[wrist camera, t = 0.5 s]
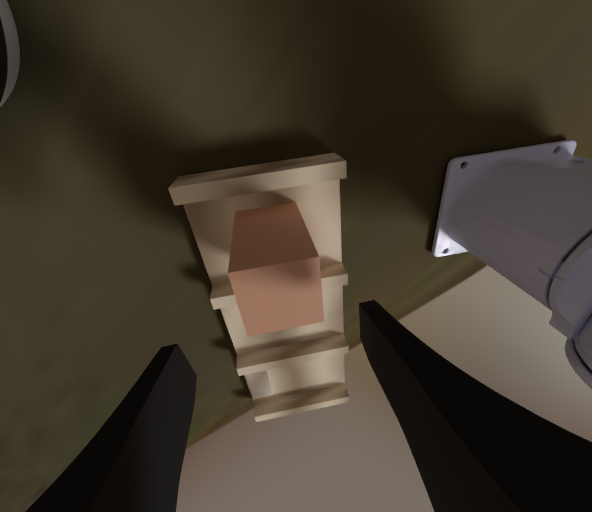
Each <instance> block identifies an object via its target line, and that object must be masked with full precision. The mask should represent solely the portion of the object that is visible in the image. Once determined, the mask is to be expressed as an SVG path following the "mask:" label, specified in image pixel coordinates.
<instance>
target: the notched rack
mask: <svg viewBox="0 0 592 512" xmlns="http://www.w3.org/2000/svg"><path fill="white" fill-rule="evenodd" d="M345 178H347V173H346V160H345V159H343V158H342V157H340V156H339V155H337V154H336V153H328V154H322V155H315V156H309V157H302V158H296V159H289V160H283V161H276V162H269V163H263V164H256V165H250V166H243V167H237V168H230V169H223V170H217V171H210V172H204V173H197V174H191V175H184V176H178V177H177V179H176V180H175V181H174V182H173V183H172V184H171V185H170V187H169V188H168V190H169V192H170V195H171V198H172V200H173V203H174V206H176V205H182V204H183V206H184V209H185V211H186V214H187V217H188V220H189V223H190V225H191V228H192V231H193V234H194V236H195V239H196V242H197V245H198V248H199V250H200V253H201V256H202V259H203V262H204V264H205V267H206V270H207V273H208V275H209V278H210V281H211V284H212V291H211V296H210V301H211V304H212V306H213V309H214V310H215V309H221V312H222V314H223V317H224V320H225V323H226V326H227V328H228V331H229V334H230V337H231V339H232V342H233V345H234V348H235V351H236V353H237V365H236V370H237V372H238V375H239V376H242V375H244V376H245V378H246V381H247V384H248V387H249V390H250V392H251V395H252V398H253V401H254V417H255V420H256V422H259V421H263V420H268V419H272V418H277V417H282V416H286V415H291V414H296V413H300V412H305V411H309V410H314V409H318V408H323V407H327V406H332V405H337V404H342V403H346V402H349V395H348V392H347V389H346V386H345V372H344V354H348V353H349V346H348V344H347V341H346V338H345V336H344V333H343V295H342V286H343V285H348V273H347V272H346V270H345V268H344V266H343V264H342V257H341V219H340V181H339V179H345ZM292 202H296V204H297V206H298V208H299V211H300V213H301V215H302V218H303V220H304V222H305V225H306V227H307V229H308V232H309V234H310V236H311V239H312V241H313V243H314V245H315V248H316V250H317V252H318V255H319V259H320V271H321V284H322V297H323V309H324V322H320V323H315V324H310V325H305V326H300V327H295V328H290V329H284V330H279V331H274V332H269V333H264V334H259V335H254V336H249V337H247V334H246V331H245V327H244V324H243V321H242V318H241V314H240V311H239V308H238V305H237V301H236V298H235V295H234V292H233V289H232V285H231V282H230V279H229V276H228V266H229V258H230V250H231V241H232V233H233V225H234V216H235V212H237V211H243V210H249V209H255V208H261V207H267V206H273V205H279V204H286V203H292Z"/></svg>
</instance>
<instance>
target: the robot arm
mask: <svg viewBox="0 0 592 512" xmlns="http://www.w3.org/2000/svg"><path fill="white" fill-rule="evenodd" d="M575 148H576V142H575V141H573V140H564V141H558V142H552V143H545V144H539V145H533V146H526V147H520V148H514V149H507V150H501V151H495V152H489V153H482V154H476V155H470V156H463V157H457V158H454V159H452V160H451V161H450V162H449V163H448V166H447V172H446V177H445V182H444V188H443V193H442V198H441V204H440V209H439V215H438V220H437V225H436V231H435V236H434V241H433V247H432V254H433V255H434V256H436V257H441V256H446V255H451V254H457V253H462V252H468V251H469V252H470V253H472V254H473V255H474V256H476V257H477V258H479V259H480V260H481V261H483V262H484V263H486V264H487V265H488V266H490V267H491V268H493V269H494V270H495V271H497V272H498V273H500V274H501V275H502V276H504V277H505V278H507V279H508V280H509V281H511V282H512V283H514V284H515V285H517V286H518V287H519V288H521V289H522V290H523V291H525V292H526V293H528V294H529V295H530V296H532V297H533V298H535V299H536V300H538V301H539V302H541V303H542V304H543V305H544V306H546V307H547V308H549V309H550V310H552V318H551V320H550V322H549V324H550V325H552V326H553V327H554V328H556V329H557V330H558V331H559V332H561V333H562V334H563V335H565V336H566V337H567V338H568V339H567V340H566V344H565V352H566V356H567V358H568V361H569V363H570V365H571V366H572V367H573V369H574V370H575V372H576V373H577V374H578V375H579V377H580V378H581V379H582V380H583V381H584V382H585V383H586V384H587V385H588V386H589V387H590V388H591V389H592V159H587V158H582V157H576V156H572V155H573V152H574V150H575ZM554 149H555V150H554ZM463 162H464V165H463V166H462V167H461V164H462V163H463ZM444 249H445V250H444ZM443 250H444V251H443ZM359 315H360V338H361V341H362V344H363V346H364V349H365V352H366V355H367V357H368V360H369V362H370V365H371V367H372V369H373V371H374V373H375V375H376V377H377V378H378V381H379V383H380V384H381V387H382V389H383V390H384V393H385V395H386V396H387V399H388V401H389V402H390V405H391V407H392V408H393V411H394V413H395V415H396V417H397V418H398V421H399V423H400V425H401V427H402V429H403V432H404V434H405V437H406V439H407V442H408V444H409V447H410V449H411V452H412V454H413V457H414V459H415V462H416V464H417V467H418V470H419V472H420V475H421V477H422V480H423V482H424V485H425V487H426V490H427V493H428V495H429V498H430V501H431V503H432V506H433V509H434V512H592V442H590V441H588V440H586V439H583V438H582V437H579V436H577V435H575V434H573V433H571V432H569V431H567V430H565V429H563V428H561V427H559V426H557V425H555V424H553V423H552V422H550V421H548V420H546V419H544V418H542V417H540V416H538V415H536V414H534V413H533V412H531V411H529V410H527V409H525V408H524V407H522V406H520V405H518V404H517V403H515V402H513V401H511V400H509V399H508V398H506V397H504V396H502V395H500V394H499V393H497V392H495V391H494V390H492V389H490V388H489V387H487V386H486V385H484V384H482V383H480V382H479V381H478V380H476V379H474V378H473V377H471V376H470V375H468V374H467V373H465V372H463V371H462V370H461V369H459V368H458V367H456V366H455V365H453V364H452V363H450V362H449V361H448V360H446V359H445V358H443V357H442V356H441V355H439V354H438V353H436V352H435V351H434V350H433V349H431V348H430V347H429V346H427V345H426V344H425V343H423V342H422V341H421V340H420V339H419V338H417V337H416V336H415V335H413V334H412V333H411V332H410V331H409V330H407V329H406V328H405V327H404V326H403V325H402V324H400V323H399V322H398V321H397V320H396V319H395V318H394V317H393V316H392V315H390V314H389V313H388V312H387V311H386V310H385V309H384V308H383V307H382V306H381V305H380V304H379V303H377V302H376V301H375V300H372V301H367V302H363V303H359ZM196 376H197V375H196V374H195V372H194V370H193V369H192V367H191V365H190V364H189V362H188V360H187V359H186V357H185V355H184V354H183V352H182V350H181V349H180V347H179V345H178V344H174V345H169V346H165V347H161V349H160V350H159V351H158V353H157V354H156V355H155V357H154V358H153V360H152V361H151V362H150V364H149V365H148V366H147V368H146V369H145V371H144V372H143V373H142V375H141V376H140V378H139V379H138V380H137V382H136V383H135V384H134V386H133V387H132V388H131V390H130V391H129V392H128V394H127V395H126V396H125V398H124V399H123V401H122V402H121V403H120V405H119V406H118V407H117V408H116V410H115V411H114V412H113V413H112V415H111V416H110V417H109V418H108V420H107V421H106V422H105V423H104V425H103V426H102V427H101V428H100V430H99V431H98V432H97V434H96V435H95V436H94V437H93V438H92V440H91V441H90V442H89V443H88V444H87V446H86V447H85V448H84V449H83V450H82V451H81V453H80V454H79V455H78V456H77V457H76V458H75V459H74V461H73V462H72V463H71V464H70V465H69V466H68V467H67V468H66V469H65V471H64V472H63V473H62V474H61V475H60V476H59V477H58V478H57V479H56V480H55V482H54V483H53V484H52V485H51V486H50V487H49V488H48V489H47V490H46V491H45V492H44V493H43V494H42V495H41V496H40V497H39V498H38V499H37V500H36V501H35V502H34V503H33V504H32V505H31V506H30V507H29V509H28V510H27V511H26V512H176V505H177V496H178V487H179V481H180V474H181V469H182V464H183V459H184V453H185V449H186V444H187V439H188V434H189V429H190V424H191V419H192V414H193V408H194V403H195V392H196Z"/></svg>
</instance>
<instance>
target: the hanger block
mask: <svg viewBox="0 0 592 512" xmlns="http://www.w3.org/2000/svg"><path fill="white" fill-rule="evenodd" d="M228 276H229V279H230V282H231V285H232V289H233V292H234V295H235V298H236V301H237V305H238V308H239V311H240V314H241V318H242V321H243V324H244V327H245V331H246V334H247V337H249V336H254V335H259V334H264V333H269V332H274V331H279V330H284V329H290V328H295V327H300V326H305V325H310V324H315V323H320V322H324V309H323V297H322V284H321V271H320V259H319V255H318V252H317V250H316V248H315V245H314V243H313V241H312V239H311V236H310V234H309V232H308V229H307V227H306V225H305V222H304V220H303V218H302V215H301V213H300V211H299V208H298V206H297V204H296V202H292V203H286V204H279V205H273V206H267V207H261V208H255V209H249V210H243V211H237V212H235V216H234V225H233V233H232V241H231V250H230V258H229V266H228Z"/></svg>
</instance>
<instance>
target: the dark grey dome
mask: <svg viewBox="0 0 592 512" xmlns="http://www.w3.org/2000/svg"><path fill="white" fill-rule="evenodd" d="M19 65H20V47H19V39H18V34H17V29H16V25H15V22H14V18H13V15H12V12H11V10H10V7H9V4H8V2H7V0H0V107H1V106H2V105H3V104H4V103H5V101H6V100H7V99H8V97H9V96H10V94H11V92H12V90H13V88H14V86H15V83H16V81H17V77H18V72H19Z"/></svg>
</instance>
